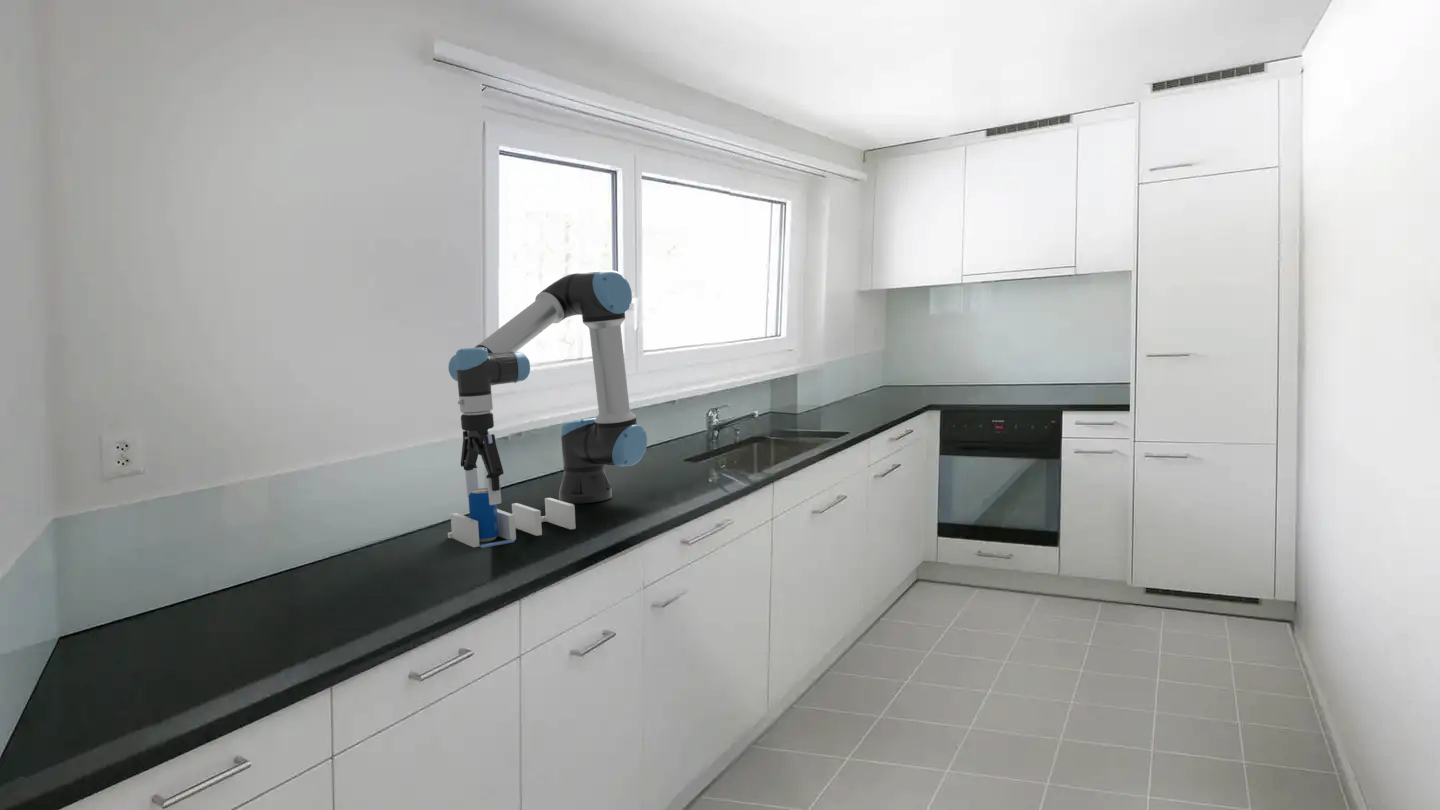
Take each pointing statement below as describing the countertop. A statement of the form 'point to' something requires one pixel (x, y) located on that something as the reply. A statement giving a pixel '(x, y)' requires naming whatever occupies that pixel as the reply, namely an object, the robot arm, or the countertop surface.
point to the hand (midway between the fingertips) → (484, 500)
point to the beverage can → (483, 514)
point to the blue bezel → (496, 543)
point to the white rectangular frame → (515, 521)
